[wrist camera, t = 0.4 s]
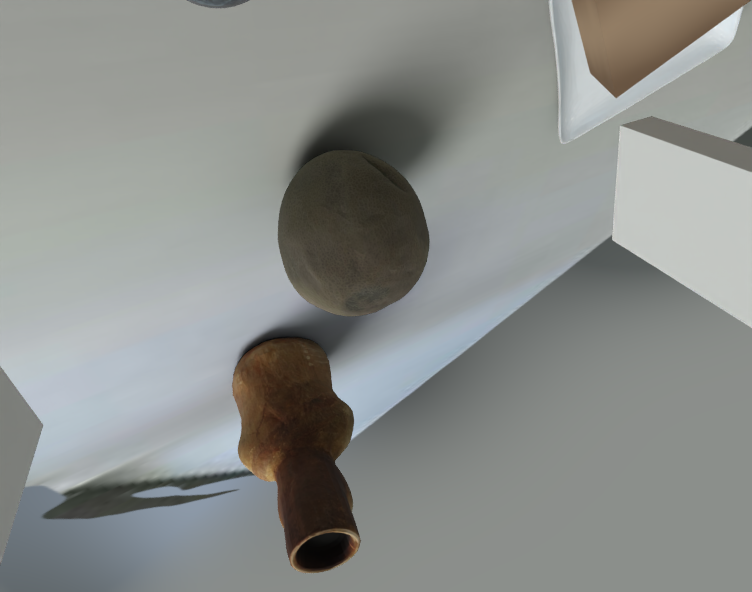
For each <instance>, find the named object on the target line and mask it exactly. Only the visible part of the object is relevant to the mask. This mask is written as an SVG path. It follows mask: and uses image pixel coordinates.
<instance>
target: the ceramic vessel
mask: <svg viewBox="0 0 752 592" xmlns="http://www.w3.org/2000/svg"><path fill="white" fill-rule="evenodd" d="M232 387H233V396H234V398H235V401H236V403H237V406H238V410H239V413H240V416H241V419H242V420H241V425H242V430H241V437H240V441H239V445H238V454H239V458H240V460H241V462H242V463H243V464H244V465H245V467H246V468H248V469H249V470H250V471H251V472H252V473H253V474H255V475H256V476H257V477H259V478H260V479H262V480H265V481H269V482H270V481H276V482H277V485H278V512H279V518H280V521H281V524H282V526H283V528H284V532H285V540H286V549H287V553H288V557H289V560H290V563H291V566H292V567H293V568H294V569H295V570H297V571H300V572H303V573H319V572H324V571H328V570H331V569H333V568H335V567H338V566H340V565H342V564H343V563H345V562H347V561H348V560H349V559H350V558H351V557H353V556H354V554H355V553H356V552H357V551H358V548H359V546H360V541H361V540H360V536H359V533H358V530H357V526H356V523H355V520H354V517H353V514H352V508H353V499H352V495H351V491H350V489H349V487H348V484H347V482H346V480H345V478H344V477H343V475H342V473H341V472H340V470H339V469H338V467H337V466H336V465H335V460H336V459H337V458H338V457H339V456H340V455H341V453H342V452H343V451H344V449H346V447H347V446H348V444H349V442H350V440H351V436H352V432H353V426H354V416H353V411H352V410H351V408H350V407H349V406H348V405H347V404H346V403H345V402H343V401H342V400H341V399H339V398H338V397H337V395H336V394H335V392H334V391H333V389H332V381H331V371H330V365H329V360H328V358H327V356H326V354H325V352H324V351H323V349H322V348H321V347H320V346H319V345H318V344H316V343H315V342H314V341H311V340H308V339H304V338H277V339H273V340H269V341H266V342H263V343H261V344H260V345H258V346H256V347H254V348H252V349H251V350H249V351H248V352H247V353H246V354H245V355H244V356H243V357H242V358H241V360H240V361H239V363H238V365H237V366H236V368H235V372H234V374H233V383H232Z"/></svg>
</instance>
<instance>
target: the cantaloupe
mask: <svg viewBox="0 0 752 592" xmlns="http://www.w3.org/2000/svg"><path fill="white" fill-rule="evenodd" d="M278 243H279V249H280V253H281V257H282V261H283V265H284V268H285V271H286V273H287V276H288V278H289V280H290V282H291V283H292V285H293V286H294V288H295V289H296V291H297V292H298V293H299V294H300V295H301V296H302V297H303V298H304V299H305V300H306V301H308V302H309V303H311V304H313V305H315V306H316V307H318V308H321V309H323V310H325V311H327V312H330V313H333V314H336V315H342V316H361V315H366V314H370V313H374V312H377V311H379V310H381V309H383V308H385V307H386V306H388V305H390V304H392V303H394V302H396V301H398V300H399V299H401V298H402V297H404V296H405V295H406V294H407V293H408V292H409V291H410V290H411V289H412V288H413V286H414V285H415V284H416V282H417V281H418V279H419V278H420V276H421V274H422V272H423V270H424V267H425V265H426V262H427V257H428V251H429V232H428V228H427V224H426V220H425V216H424V212H423V209H422V206H421V203H420V201H419V199H418V197H417V195H416V193H415V191H414V190H413V188H412V187H411V185H410V184H409V183H408V181H407V180H406V179H405V178H404V177H403V176H402V175H401V174H400V173H399V172H398V171H397V170H396V169H394V168H393V167H392V166H390V165H389V164H387V163H386V162H384V161H382V160H380V159H378V158H376V157H374V156H372V155H369V154H366V153H363V152H360V151H353V150H336V151H329V152H326V153H324V154H321V155H319V156H317V157H315V158H313V159H312V160H311V161H309V162H308V163H307V164H305V165H304V166H303V167H302V168H301V169H300V170H299V171H298V173H297V174H296V175H295V177H294V178H293V179H292V181H291V183H290V184H289V186H288V188H287V190H286V192H285V194H284V197H283V200H282V204H281V208H280V213H279V221H278Z"/></svg>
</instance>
